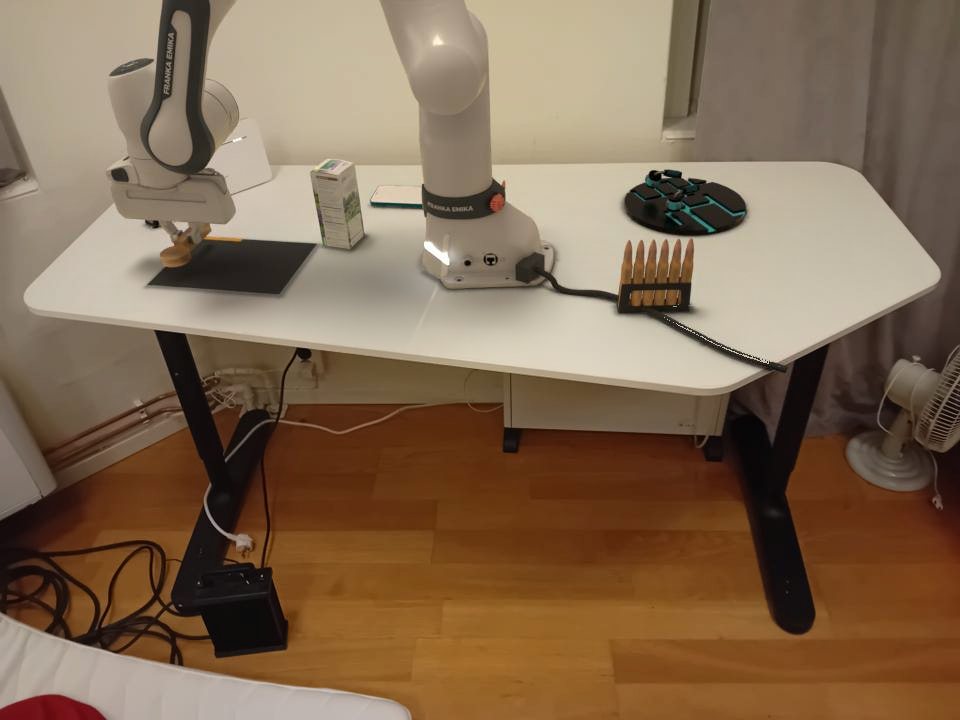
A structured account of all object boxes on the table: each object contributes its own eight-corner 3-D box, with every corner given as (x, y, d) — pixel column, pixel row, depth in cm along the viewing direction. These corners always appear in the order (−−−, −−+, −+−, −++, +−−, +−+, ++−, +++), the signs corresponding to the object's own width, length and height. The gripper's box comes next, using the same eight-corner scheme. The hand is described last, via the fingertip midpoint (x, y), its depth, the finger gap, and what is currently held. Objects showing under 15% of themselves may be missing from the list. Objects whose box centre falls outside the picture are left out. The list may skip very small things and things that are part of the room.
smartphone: (456, 191, 150) (379, 188, 152) (456, 187, 149) (379, 184, 152) (449, 210, 144) (369, 206, 146) (449, 205, 143) (368, 202, 145)
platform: (700, 174, 151) (704, 143, 147) (770, 219, 134) (777, 185, 130) (603, 195, 145) (604, 164, 141) (664, 245, 129) (668, 211, 125)
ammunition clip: (617, 313, 113) (623, 243, 106) (616, 306, 115) (621, 237, 107) (689, 311, 113) (699, 241, 105) (686, 304, 114) (697, 234, 107)
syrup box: (338, 232, 138) (324, 157, 130) (366, 236, 137) (354, 160, 128) (322, 246, 134) (307, 170, 125) (351, 251, 133) (338, 174, 124)
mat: (317, 245, 135) (317, 243, 135) (279, 296, 122) (278, 293, 121) (196, 238, 139) (196, 235, 139) (147, 286, 126) (146, 284, 126)
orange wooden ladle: (195, 229, 135) (191, 216, 133) (219, 231, 134) (215, 218, 133) (156, 266, 125) (152, 252, 123) (182, 268, 124) (178, 254, 123)
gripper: (230, 160, 121) (250, 236, 129) (118, 155, 125) (144, 229, 133) (212, 176, 116) (234, 254, 124) (95, 171, 120) (124, 247, 128)
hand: (186, 241), depth 129 cm, fingers closed on orange wooden ladle, 2 cm apart
